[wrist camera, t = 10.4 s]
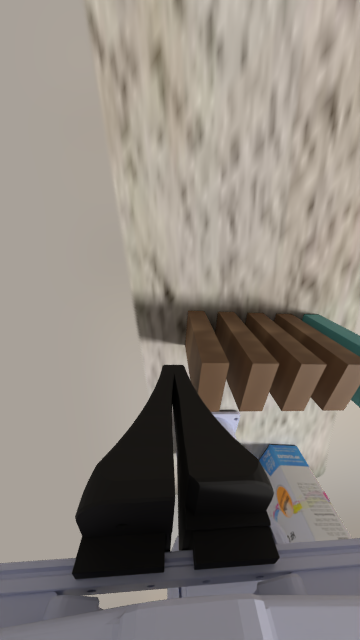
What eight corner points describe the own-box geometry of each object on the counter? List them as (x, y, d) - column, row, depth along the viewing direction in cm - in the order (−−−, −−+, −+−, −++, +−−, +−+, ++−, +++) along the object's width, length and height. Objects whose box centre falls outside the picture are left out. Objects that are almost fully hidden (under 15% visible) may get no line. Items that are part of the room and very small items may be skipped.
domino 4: (291, 314, 18) (372, 365, 11) (279, 347, 20) (343, 410, 13) (276, 313, 18) (348, 364, 11) (266, 346, 20) (322, 410, 12)
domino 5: (318, 314, 18) (416, 364, 11) (305, 347, 20) (383, 409, 13) (304, 314, 18) (393, 365, 11) (292, 347, 20) (362, 410, 13)
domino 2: (234, 312, 18) (279, 363, 10) (227, 346, 19) (262, 410, 12) (218, 311, 18) (252, 363, 10) (212, 345, 19) (239, 411, 12)
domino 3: (263, 313, 18) (326, 364, 11) (253, 346, 20) (303, 410, 12) (247, 312, 18) (301, 364, 11) (239, 346, 19) (281, 410, 12)
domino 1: (204, 311, 17) (229, 363, 10) (199, 345, 19) (219, 411, 12) (188, 310, 17) (202, 362, 10) (185, 345, 19) (195, 411, 12)
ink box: (267, 443, 27) (362, 638, 14) (297, 444, 28) (413, 633, 15) (249, 473, 31) (310, 653, 17) (275, 474, 31) (353, 648, 18)
